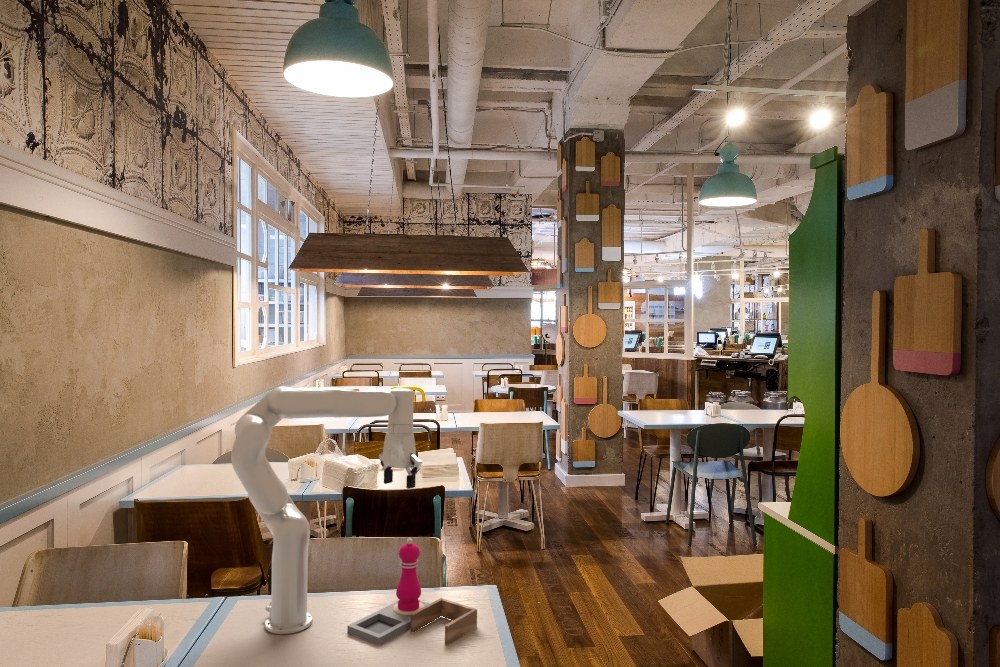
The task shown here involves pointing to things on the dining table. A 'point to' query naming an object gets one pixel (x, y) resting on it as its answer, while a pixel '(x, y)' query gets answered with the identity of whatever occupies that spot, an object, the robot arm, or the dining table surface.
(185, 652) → the dining table surface
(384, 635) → the gray portable music player
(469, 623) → the wooden u-shaped frame
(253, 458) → the robot arm
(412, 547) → the pepper mill
